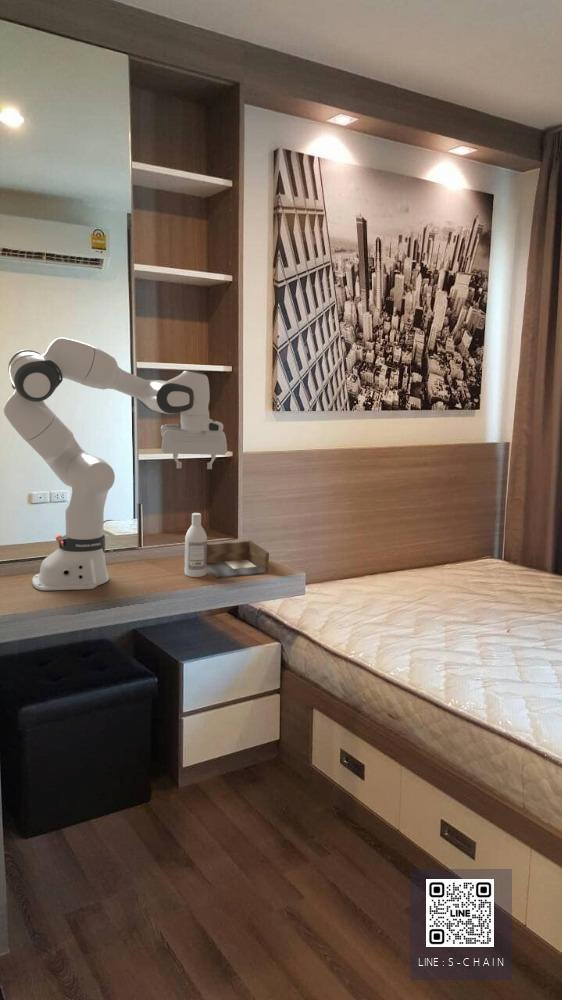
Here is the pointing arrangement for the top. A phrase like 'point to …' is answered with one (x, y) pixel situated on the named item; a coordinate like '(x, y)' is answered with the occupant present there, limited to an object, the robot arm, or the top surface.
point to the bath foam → (195, 548)
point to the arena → (236, 559)
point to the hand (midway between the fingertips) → (194, 468)
